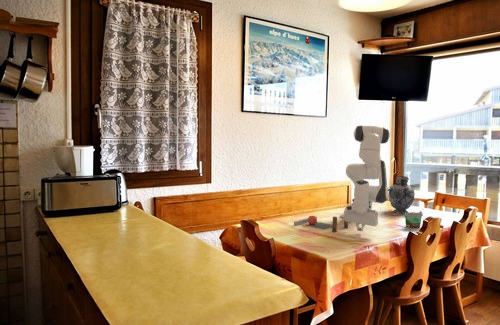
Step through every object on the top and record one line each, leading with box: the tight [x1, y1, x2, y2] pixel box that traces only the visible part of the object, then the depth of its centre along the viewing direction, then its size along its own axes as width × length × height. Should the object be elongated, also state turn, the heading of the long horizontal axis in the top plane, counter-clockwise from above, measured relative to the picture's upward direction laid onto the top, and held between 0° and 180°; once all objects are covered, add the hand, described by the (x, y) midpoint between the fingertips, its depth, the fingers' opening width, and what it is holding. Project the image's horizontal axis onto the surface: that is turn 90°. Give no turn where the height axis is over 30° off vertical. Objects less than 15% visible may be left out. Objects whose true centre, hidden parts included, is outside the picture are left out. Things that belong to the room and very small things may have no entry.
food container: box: [404, 210, 424, 229], centre depth 241 cm, size 12×6×10 cm, turn 105°
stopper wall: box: [293, 215, 318, 227], centre depth 249 cm, size 2×24×2 cm, turn 138°
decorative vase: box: [388, 175, 415, 214], centre depth 292 cm, size 21×19×28 cm
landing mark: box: [305, 221, 332, 230], centre depth 241 cm, size 14×14×1 cm
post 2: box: [343, 219, 349, 229], centre depth 237 cm, size 3×3×9 cm
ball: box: [307, 215, 318, 225], centre depth 244 cm, size 6×6×6 cm
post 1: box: [331, 216, 338, 233], centre depth 226 cm, size 3×3×9 cm
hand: (360, 231), depth 223 cm, fingers closed
